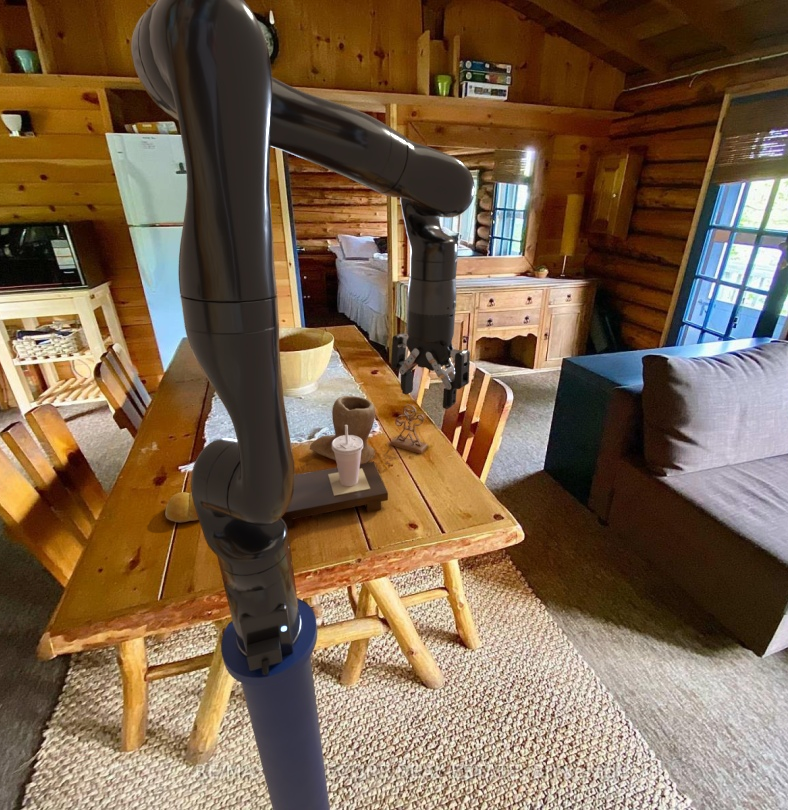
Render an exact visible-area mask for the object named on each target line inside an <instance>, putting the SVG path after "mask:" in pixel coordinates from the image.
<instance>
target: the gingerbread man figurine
mask: <svg viewBox="0 0 788 810" xmlns="http://www.w3.org/2000/svg"><path fill="white" fill-rule="evenodd" d="M409 407H410V408H411V409H410V408H409ZM409 412H410V413H409ZM402 413H403V414H400V415H398V416H397V417H396V418H395V420H394V424H395V425H396V426H397V427H399V428H400V427H402V426H403V429H402V431H401V432H400V434H399V435H396V437H394V438H393V439H392V440H391V441H390V445H391V446H393V447H397V448H399V449H402V450H406V451H408V452H413V453H416V454H418V455H421V454H423V453H424V452H425V450H426V449H428V444H427V443H425V442H422V441H420V438H419V436H418V435H417V432H416V427H419V426H421V425H422V424H423V423H424V422H425V415H424V414H422V413H418V411H417V408H416V407H415V406H414V405H413V404H409V403H408V404H406V405H404V406H403V409H402ZM399 418H405V420H401V419H399ZM416 420H419V421H420V423H413V425H411V423H412V422H414V421H416ZM407 421H408V422H407ZM407 424H408V426H407ZM411 427H412V428H411ZM405 430H406V431H409V432H408V433H407V435H406V436H404V435H403V433H404V432H405ZM411 433H413V435H414V437H415V439H414V438H413V435H412V434H411ZM408 437H409V438H408Z"/></svg>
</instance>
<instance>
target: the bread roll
mask: <svg viewBox="0 0 788 810" xmlns="http://www.w3.org/2000/svg"><path fill="white" fill-rule="evenodd" d="M164 514H165V518H166V519H167V520H168V521H171V522H175V523H186V522H190V521H191V522H192V521H193V522H195V521H199V519H198V516H197V513H196V509H195V506H194V502H193V498H192V492H186V491H182V492H177V493H175V494H174V495H172V496H171V497H170V499H169V500H168V502H167V504H166V507H165V513H164Z"/></svg>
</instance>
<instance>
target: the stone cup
mask: <svg viewBox="0 0 788 810" xmlns="http://www.w3.org/2000/svg"><path fill="white" fill-rule="evenodd" d="M331 416H332V425H333V431H334V434H329V435H322V436H320V437H318V438H316V439H315V440H313V442H311V444H310V445H309V447H308V448H309V450H311V452H314V453H315V454H319V455H321V456H323V457H325V458H328V459H331V460H333V461H335V462H336V458H335V453H334V451H333V450H332V442H333V440H334V439H336V438H337V437H340V436H343V435H345V425H348V435H354V436H357V437H359V438H361V439H362V441H363V449H362V450H361V458H360V464H362V463H368V462H371V461H372V459H373V458H374V456H375V454H376V450H375V448H373V447H372V446H371V445H369V444H368V439H369V436H370V434H371V432H372V429H373V427H374V422H375V419H376V407H375V405H374V403H373V402H372V401H371V400H369V399H367V398H364V397H362V396H355V395H344V396H342V395H341V396H340V397H338V398H337V399H336V400H335V401H334V403H333V404H332V411H331Z"/></svg>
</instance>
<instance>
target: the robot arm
mask: <svg viewBox="0 0 788 810" xmlns="http://www.w3.org/2000/svg"><path fill="white" fill-rule="evenodd" d="M130 46H131V47H130V51H131V52H130V53H131V59H132V63H133V68H134V70H135V72H136V75H137V77H138V80H139V82H140V83H141V85H142V87H143V89H144V90H145V92H146V93H147V94H148V96H149V97H150V98H151V99H152V101H153V102H154V103H155V104H156V105H157V106H158V107H159V108H161V109H162V110H163V112H165V113H167V114H168V115H169V116H171V117H172V118H173V119H175V120H177V121H178V126H179V131H180V138H181V145H182V149H183V150H182V151H183V156H184V163H185V172H186V173H185V174H186V200H185V208H184V215H183V224H182V229H181V237H180V243H179V255H178V286H179V288H178V289H179V295H180V297H179V298H180V303H181V308H182V309H181V310H182V317H183V325H184V330H185V334H186V339H187V343H188V346H189V348H190V350H191V353H192V355H193V357H194V359H195V361H196V362H197V365H198V366H199V368H200V369H201V371H202V373H203V374H204V376H205V378H206V379H207V380H208V382H209V383H210V385H211V387H212V388H213V390H214V392H215V394H216V395H217V396H218V398H219V399H220V401H221V403H222V404H223V406H224V408H225V409H226V412H227V413H228V415H229V418H230V420H231V423H232V426H233V429H234V433H235V438H234V437H221V438H218V439H215V440H212V441H210V443H208V444H207V445H206V446H205V447H204V448H202V450H201V451H200V452H199V453H198V456H197V457H196V459H195V462H194V464H193V468H192V469H191V470H192V471H191V475H190V491H191V492H192V498H193V502H194V506H195V509H196V513H197V516H198V519H199V520H198V522H199V524H200V528H201V531H202V533H203V537H204V540H205V542H206V544H207V546H208V548H209V549H210V550H211V551H212V553H214V554H215V555H216V559H217V561H218V566H219V570H220V575H221V579H222V584H223V587H224V592H225V595H226V600H227V604H228V608H229V612H230V617H231V621H233V626H234V629H235V633H236V640H237V645H238V648H239V651H240V652H241V654H242V655H243V656H244V657H246V658H247V661H248V665H249V669H250V671H252V670H256V669H259V668H262V674H263V675H267V674H268V673H269V665H273V664H276V663H280V662H282V657H283V656H287V655H290V654H293V652H294V651H293V646H294V645H295V643H296V642H297V640H298V639H299V636H300V633H301V629H302V624H301V617H300V614H299V607H298V600H297V598H298V594H297V586H296V577H295V570H294V562H293V556H292V555H293V554H292V548H291V540H290V533H289V528H287V525H286V523H285V522H284V520H283V519H282V518H281V517H282V516H283V515H284V514H285V512H286V510H287V509H288V507H289V504H290V502H291V499H292V495H293V491H294V484H295V475H296V470H295V469H296V468H295V460H294V454H293V447H292V442H291V441H292V440H291V436H290V429H289V425H288V418H287V412H286V405H285V396H284V386H283V377H282V364H281V351H280V320H279V319H280V318H279V317H280V316H279V304H278V303H279V302H278V289H277V288H278V287H277V280H276V269H275V268H276V267H275V251H274V234H273V232H274V231H273V218H272V207H271V188H270V187H271V185H270V183H271V182H270V181H271V179H270V177H271V176H270V175H271V173H270V172H271V170H270V169H271V147H272V148H275V149H278V150H281V151H283V152H286V153H289V154H291V155H294V156H296V157H298V158H301V159H304V160H306V161H308V162H311V163H312V164H315V165H318V166H320V167H322V168H325V169H327V170H329V171H331V172H334V173H336V174H337V175H340V176H342V177H344V178H346V179H349V180H351V181H352V182H355V183H357V184H359V185H361V186H363V187H366V188H368V189H370V190H372V191H375V192H377V193H378V194H382V195H384V196H387V197H391V198H398V199H400V205H401V211H402V217H403V221H404V227H405V232H406V236H407V240H408V243H409V248H410V249H409V251H410V253H409V281H408V287H407V303H406V304H407V306H406V307H407V308H406V332H401V333H398V334H396V335H393V336H392V340H391V341H392V342H391V357H390V359H391V360H390V365H391V368H392V369H396V370H398V372H399V374H400V390H401V392H402V394H403V395H406V396H408V395H409V394H411V393H412V392H413V391H414V371H413V370H414V369H415V368H416V367H418V368H425V369H427V370H429V371H432V372H434V373H435V375H436V376H437V378H438V379H440V380H441V382H442V384H443V386H444V388H443V393H442V394H443V395H442V409H444V410H449V409H450V408H452V407H453V406H454V405H455V404H456V402H457V391H458V390H461V389H462V388H463V387H465V386H467V385H468V384H469V383H470V361H471V352H470V350H469V349H467V348H464V349H462V350H461V349H457V348H454V346H453V338H454V334H455V321H456V320H455V319H456V308H457V270H458V269H457V266H458V252H459V251H458V248H459V247H458V242H457V240H456V239H455V238H454V237H452V236H451V235H449V234H447V233H445V232H444V231H443V229H442V226H441V223H440V218H447V219H448V218H455V217H458V216H460V215H463V214H464V213H465V212H466V211H467V210H468V209H469V208H470V206H471V205H472V202H473V200H474V198H475V192H476V191H475V190H476V188H475V180H474V178H473V175H472V173H471V171H470V169H469V167H467V165H465V163H464V162H462V161H461V160H460V159H458V158H456V157H455V156H453V155H451V154H449V153H445V152H444V151H441V150H438V149H436V148H432V147H430V146H427V145H423V144H422V143H421V144H420V143H417V142H415V141H413V140H411V139H409V138H408V137H406V136H405V135H403V134H402V133H400V132H399V131H398V130H396V129H394V128H392V127H390V126H389V125H387V124H386V123H384V122H382V121H380V120H379V119H377V118H375V117H374V116H372V115H369V114H367V113H365V112H363V111H360V110H358V109H356V108H353V107H350V106H347V105H345V104H341V103H338V102H335V101H333V100H328V99H326V98H323V97H319V96H316V95H313V94H310V93H308V92H305V91H302V90H300V89H297V88H296V87H293V86H291V85H288V84H286V83H285V82H283V81H281V80H280V79H277V78H275V77H273V71H272V63H271V57H270V51H269V47H268V44H267V40H266V37H265V34H264V32H263V29H262V28H261V26H260V23H259V21H258V19H257V17H256V16H255V14H254V12H253V10H252V9H251V7H250V6H249V5H248V4H247V2H246V1H245V0H155V2H153V3H152V5H150V7H148V8H147V9H146V11H145V12H144V13H143V14H142V15H141V17H140V18H139V20H138V21H137V22H136V25H135V27H134V29H133V32H132V37H131V43H130ZM407 349H408V351H409V353H410V354H409V355H408V356H407V358H406V353H407ZM451 358H452V361H451ZM443 367H444V368H443ZM191 492H190V493H191Z"/></svg>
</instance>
